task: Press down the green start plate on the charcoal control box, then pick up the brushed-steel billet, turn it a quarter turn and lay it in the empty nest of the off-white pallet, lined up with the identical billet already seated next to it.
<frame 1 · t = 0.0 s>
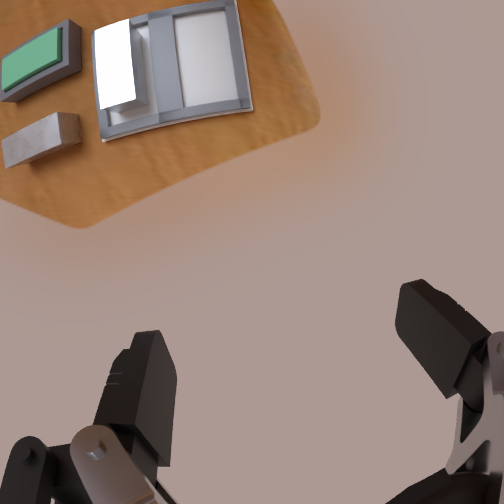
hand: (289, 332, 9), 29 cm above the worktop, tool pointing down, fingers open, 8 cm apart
pallet: (167, 65, 29), on the worktop
control box: (45, 64, 25), on the worktop
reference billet: (129, 72, 27), resting on pallet
start button: (30, 59, 21), point 4 cm above the worktop, slide at 0.0 cm
billet: (52, 139, 30), on the worktop
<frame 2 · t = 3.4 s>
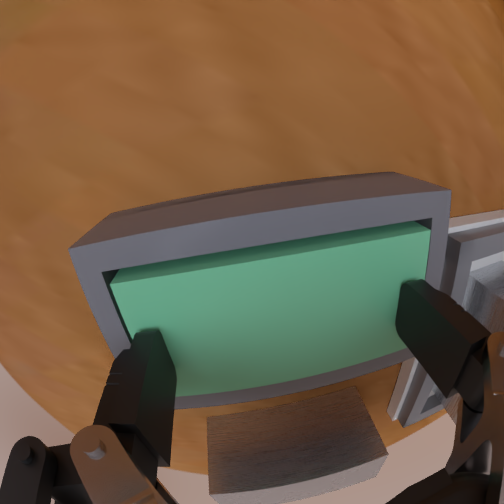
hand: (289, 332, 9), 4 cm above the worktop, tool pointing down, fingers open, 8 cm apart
pallet: (494, 304, 16), on the worktop
control box: (268, 269, 13), on the worktop
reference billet: (467, 330, 15), resting on pallet
start button: (285, 315, 9), point 4 cm above the worktop, slide at 0.7 cm, touching gripper
billet: (284, 419, 18), on the worktop
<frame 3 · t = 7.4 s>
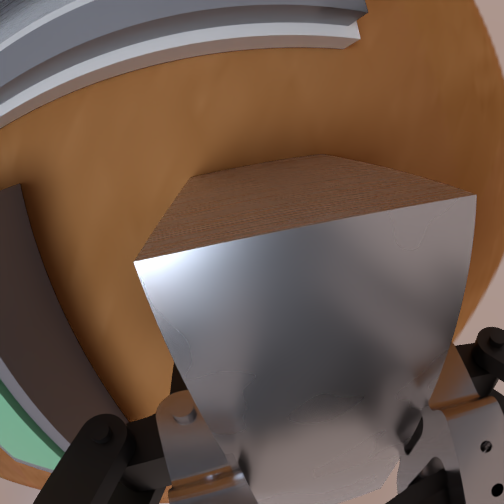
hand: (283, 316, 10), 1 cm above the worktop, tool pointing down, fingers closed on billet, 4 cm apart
control box: (17, 336, 9), on the worktop
billet: (281, 307, 10), on the worktop, touching gripper
when the fingers open (3 cm above the worktop, at t = 13.2 s): billet drops 1 cm, resting on pallet.
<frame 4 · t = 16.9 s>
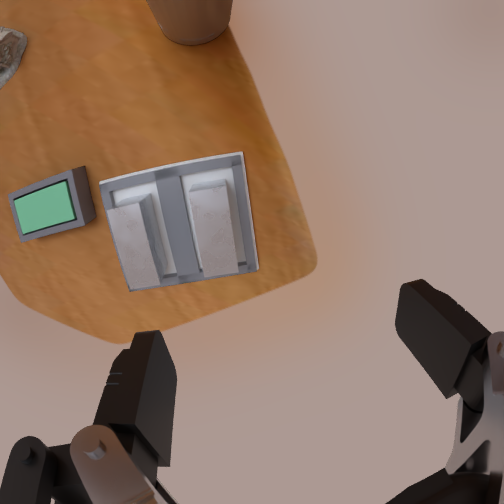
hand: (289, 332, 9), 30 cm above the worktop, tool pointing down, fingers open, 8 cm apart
pallet: (179, 223, 38), on the worktop
control box: (56, 201, 34), on the worktop
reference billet: (145, 232, 36), resting on pallet
start button: (44, 207, 31), point 3 cm above the worktop, slide at 0.8 cm
billet: (214, 219, 37), point 1 cm above the worktop, touching pallet
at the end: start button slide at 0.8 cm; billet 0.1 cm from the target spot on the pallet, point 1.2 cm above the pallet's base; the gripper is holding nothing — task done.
